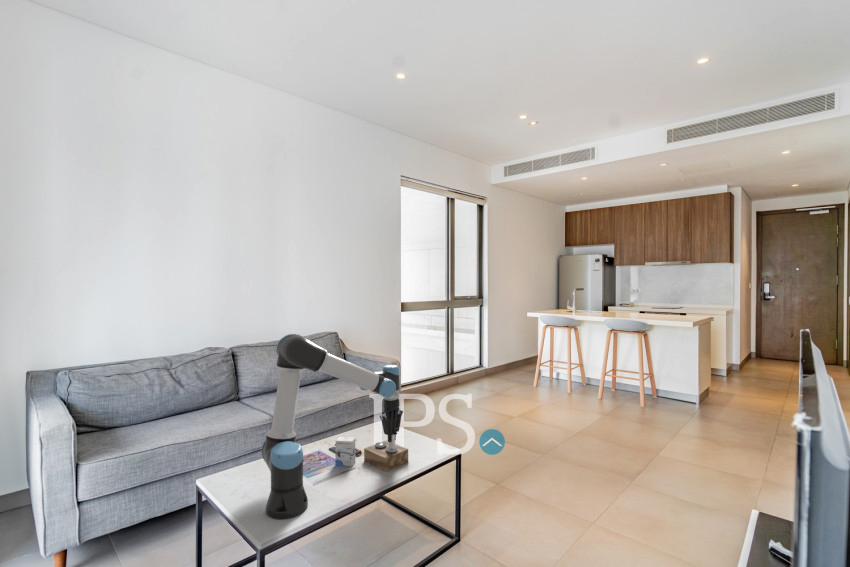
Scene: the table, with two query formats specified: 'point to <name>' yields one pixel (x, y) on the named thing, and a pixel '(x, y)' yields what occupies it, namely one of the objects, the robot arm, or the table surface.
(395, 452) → the peg near
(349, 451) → the ink box
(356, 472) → the table surface
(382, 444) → the peg far
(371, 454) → the socket block
